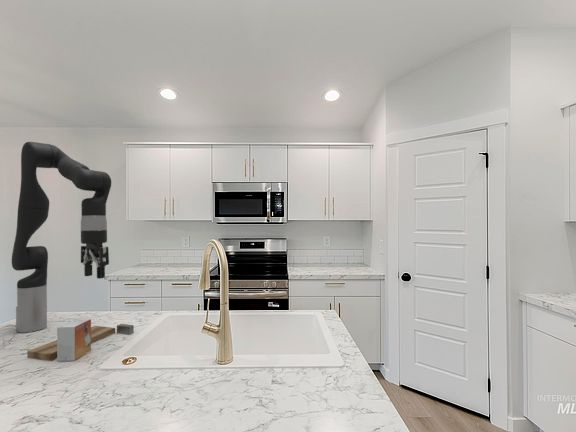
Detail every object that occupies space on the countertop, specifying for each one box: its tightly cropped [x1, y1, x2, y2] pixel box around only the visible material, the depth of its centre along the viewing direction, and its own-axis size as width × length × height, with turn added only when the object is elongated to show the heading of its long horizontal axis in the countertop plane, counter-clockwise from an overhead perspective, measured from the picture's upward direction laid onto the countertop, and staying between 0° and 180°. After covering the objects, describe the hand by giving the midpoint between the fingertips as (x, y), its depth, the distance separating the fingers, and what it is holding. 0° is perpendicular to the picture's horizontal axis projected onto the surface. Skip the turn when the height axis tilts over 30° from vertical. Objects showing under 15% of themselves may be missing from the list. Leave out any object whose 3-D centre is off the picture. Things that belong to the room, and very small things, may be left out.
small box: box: [56, 318, 92, 362], centre depth 98 cm, size 8×6×10 cm
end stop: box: [116, 323, 135, 336], centre depth 117 cm, size 6×2×3 cm, turn 73°
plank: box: [26, 325, 116, 362], centre depth 107 cm, size 10×24×2 cm, turn 163°
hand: (94, 277), depth 103 cm, fingers open, 8 cm apart
